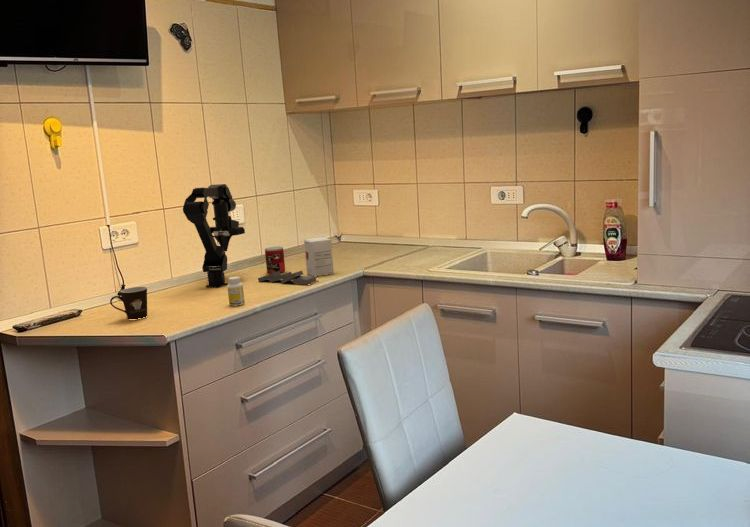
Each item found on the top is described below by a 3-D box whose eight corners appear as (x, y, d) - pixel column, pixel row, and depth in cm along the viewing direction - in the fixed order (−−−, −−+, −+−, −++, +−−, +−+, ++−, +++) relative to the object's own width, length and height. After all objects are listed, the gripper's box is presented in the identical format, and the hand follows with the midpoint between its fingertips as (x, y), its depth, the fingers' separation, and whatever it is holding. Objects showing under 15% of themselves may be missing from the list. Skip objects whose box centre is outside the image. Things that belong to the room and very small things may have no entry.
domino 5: (295, 286, 277) (311, 287, 273) (294, 282, 277) (311, 283, 273) (302, 283, 282) (318, 284, 278) (301, 279, 281) (318, 280, 277)
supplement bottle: (238, 302, 253) (235, 275, 251) (247, 303, 250) (245, 276, 248) (226, 305, 249) (223, 278, 247) (236, 307, 246) (233, 279, 244)
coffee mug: (153, 313, 244) (149, 286, 242) (146, 320, 236) (142, 291, 234) (120, 316, 244) (116, 288, 242) (111, 323, 236) (107, 294, 234)
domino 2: (270, 282, 283) (285, 278, 279) (269, 279, 283) (284, 274, 279) (277, 280, 288) (292, 275, 284) (276, 276, 288) (291, 271, 284)
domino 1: (258, 282, 286) (273, 277, 282) (257, 278, 286) (272, 273, 282) (266, 279, 290) (280, 274, 287) (264, 275, 290) (279, 271, 286)
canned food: (263, 274, 301) (261, 249, 299) (274, 270, 308) (272, 246, 306) (278, 275, 298) (275, 249, 296) (288, 271, 304) (286, 246, 302)
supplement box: (306, 274, 295) (303, 239, 292) (325, 271, 299) (322, 236, 296) (314, 277, 287) (311, 241, 284) (334, 274, 291) (331, 238, 288)
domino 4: (292, 282, 277) (308, 283, 273) (292, 278, 277) (307, 279, 272) (300, 279, 281) (316, 280, 277) (300, 275, 281) (315, 276, 276)
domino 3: (282, 283, 279) (295, 276, 275) (280, 280, 280) (293, 273, 275) (290, 281, 284) (303, 274, 279) (288, 277, 284) (301, 270, 279)
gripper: (251, 211, 294) (255, 248, 297) (217, 212, 303) (220, 247, 306) (234, 215, 284) (238, 253, 287) (199, 215, 293) (203, 252, 296)
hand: (225, 251), depth 294 cm, fingers closed
